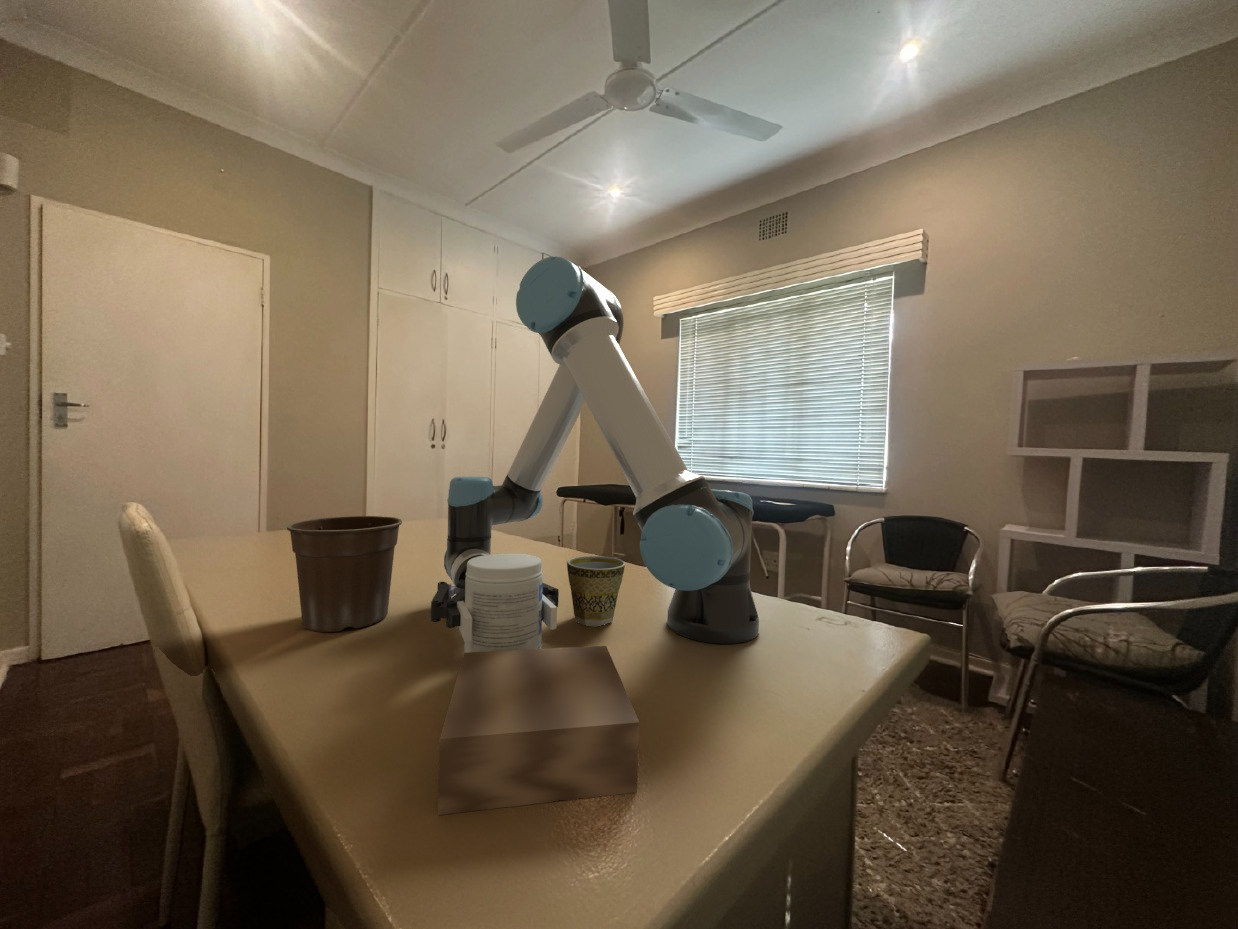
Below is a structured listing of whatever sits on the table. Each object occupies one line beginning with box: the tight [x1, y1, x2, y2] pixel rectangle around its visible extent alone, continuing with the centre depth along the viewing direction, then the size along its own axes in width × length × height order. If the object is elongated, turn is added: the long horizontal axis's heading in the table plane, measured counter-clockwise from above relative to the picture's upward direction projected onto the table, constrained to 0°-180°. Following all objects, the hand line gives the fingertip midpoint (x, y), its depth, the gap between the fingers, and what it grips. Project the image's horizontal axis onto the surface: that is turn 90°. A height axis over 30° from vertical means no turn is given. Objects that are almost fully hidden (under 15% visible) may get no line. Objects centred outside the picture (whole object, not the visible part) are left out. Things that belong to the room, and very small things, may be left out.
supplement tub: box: [463, 553, 544, 654], centre depth 60 cm, size 10×10×15 cm
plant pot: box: [286, 515, 403, 633], centre depth 77 cm, size 16×16×16 cm
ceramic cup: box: [566, 555, 626, 627], centre depth 82 cm, size 13×10×10 cm
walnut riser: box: [437, 645, 640, 816], centre depth 46 cm, size 16×16×6 cm
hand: (512, 623), depth 56 cm, fingers closed on supplement tub, 9 cm apart
